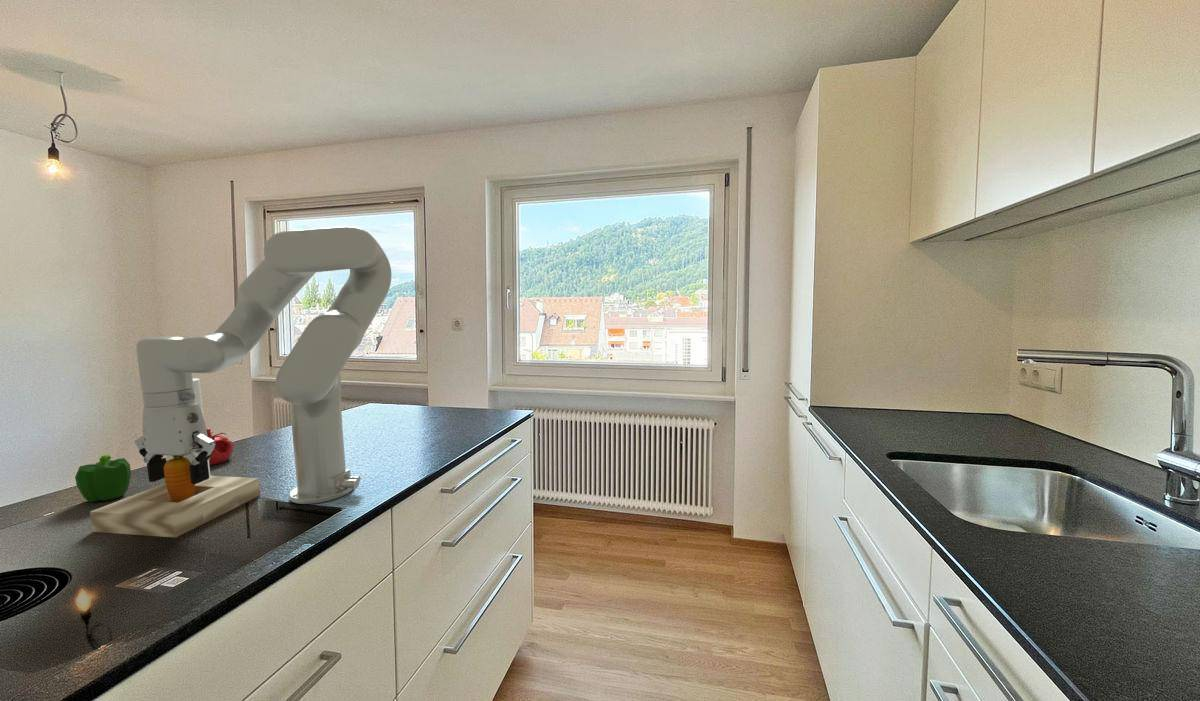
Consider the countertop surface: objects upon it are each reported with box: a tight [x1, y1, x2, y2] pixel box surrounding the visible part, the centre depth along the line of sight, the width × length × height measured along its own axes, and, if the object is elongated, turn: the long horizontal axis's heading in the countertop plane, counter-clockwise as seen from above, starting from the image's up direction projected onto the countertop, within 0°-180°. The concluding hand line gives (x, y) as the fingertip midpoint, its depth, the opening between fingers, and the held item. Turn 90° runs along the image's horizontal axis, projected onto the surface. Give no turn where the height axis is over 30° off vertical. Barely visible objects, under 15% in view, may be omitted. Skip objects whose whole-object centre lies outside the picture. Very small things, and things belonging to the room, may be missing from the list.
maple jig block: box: [89, 475, 261, 538], centre depth 94 cm, size 18×18×4 cm
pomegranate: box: [206, 427, 235, 466], centre depth 122 cm, size 10×10×9 cm
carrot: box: [164, 455, 195, 503], centre depth 93 cm, size 5×5×15 cm
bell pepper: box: [74, 454, 132, 503], centre depth 100 cm, size 8×8×10 cm
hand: (179, 480), depth 93 cm, fingers open, 9 cm apart
